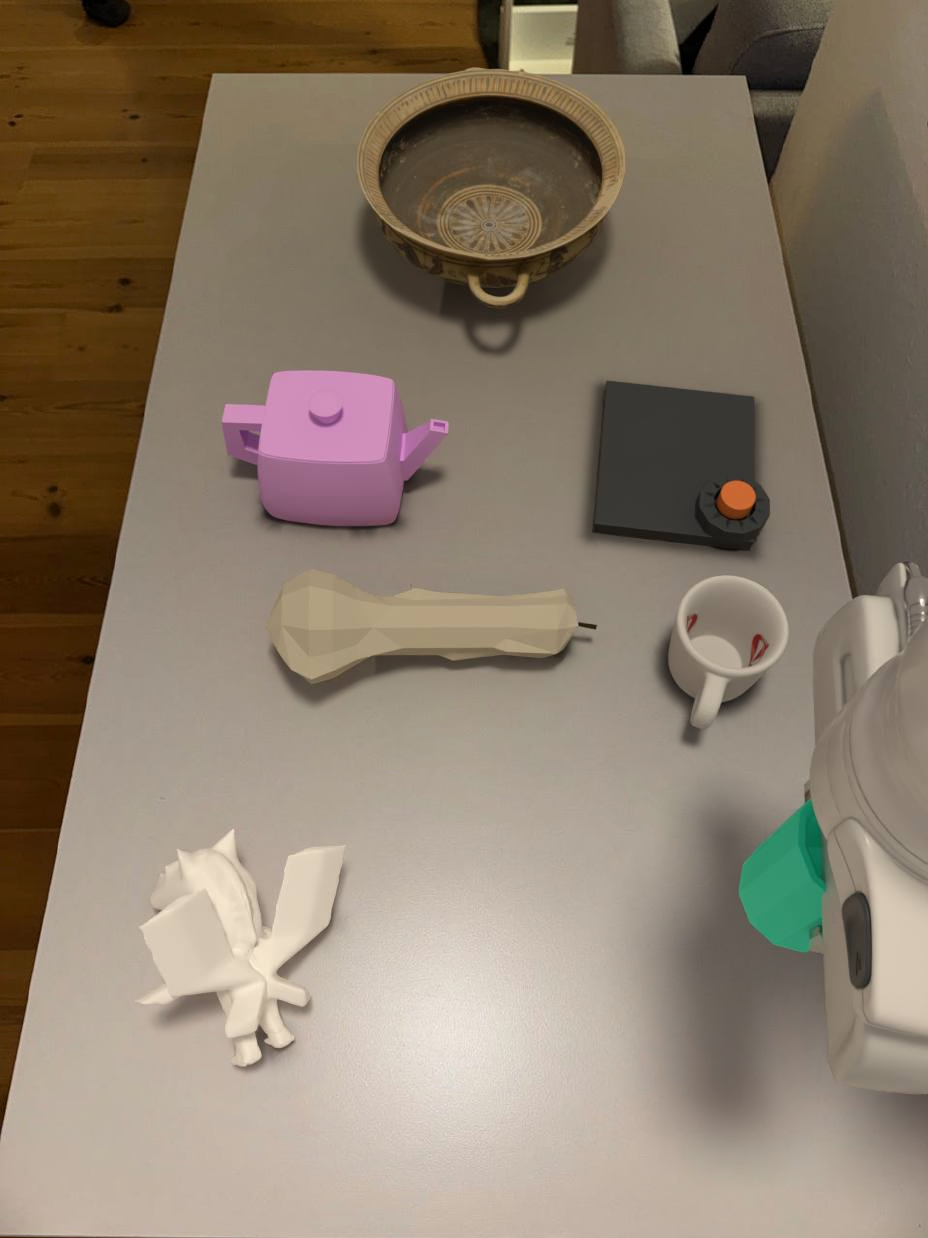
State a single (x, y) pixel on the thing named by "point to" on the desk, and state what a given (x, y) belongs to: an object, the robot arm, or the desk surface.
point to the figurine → (237, 936)
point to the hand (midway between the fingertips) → (822, 869)
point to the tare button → (736, 499)
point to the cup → (724, 641)
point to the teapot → (330, 447)
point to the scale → (675, 465)
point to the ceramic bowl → (491, 177)
